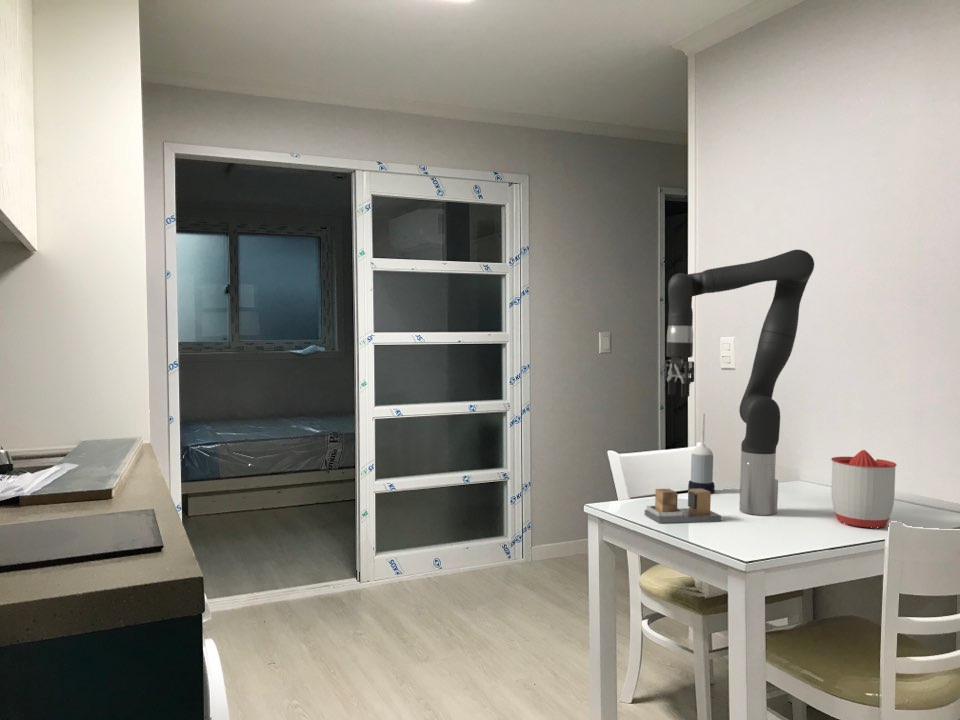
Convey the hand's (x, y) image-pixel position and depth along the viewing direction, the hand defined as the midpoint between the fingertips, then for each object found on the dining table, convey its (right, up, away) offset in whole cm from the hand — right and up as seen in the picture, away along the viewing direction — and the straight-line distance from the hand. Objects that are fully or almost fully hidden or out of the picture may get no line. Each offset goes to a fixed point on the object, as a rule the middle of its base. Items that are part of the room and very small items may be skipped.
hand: (678, 395), depth 215 cm
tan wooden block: (-9, -31, -19) cm, 37 cm away
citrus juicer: (+44, -34, -19) cm, 59 cm away
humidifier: (+12, -32, +18) cm, 39 cm away
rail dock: (-4, -33, -18) cm, 37 cm away
